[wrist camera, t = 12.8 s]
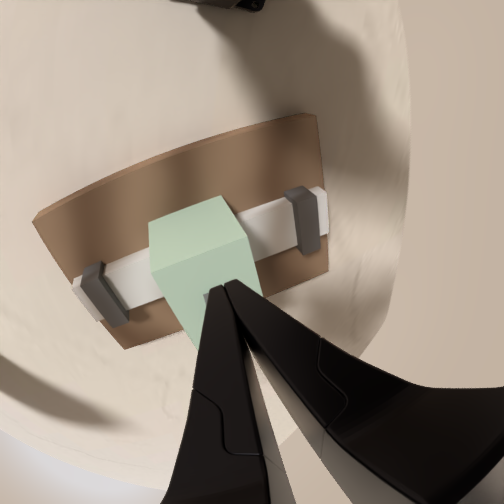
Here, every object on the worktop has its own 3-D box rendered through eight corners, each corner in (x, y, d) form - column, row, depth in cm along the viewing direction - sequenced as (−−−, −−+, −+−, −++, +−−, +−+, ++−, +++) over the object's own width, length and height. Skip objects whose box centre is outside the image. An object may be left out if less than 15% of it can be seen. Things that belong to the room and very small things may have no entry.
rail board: (305, 112, 18) (332, 120, 15) (320, 261, 26) (339, 284, 24) (38, 212, 15) (21, 236, 12) (124, 337, 24) (125, 367, 21)
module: (220, 195, 18) (252, 244, 13) (244, 274, 22) (274, 332, 17) (148, 222, 17) (151, 283, 12) (184, 297, 21) (200, 360, 16)
